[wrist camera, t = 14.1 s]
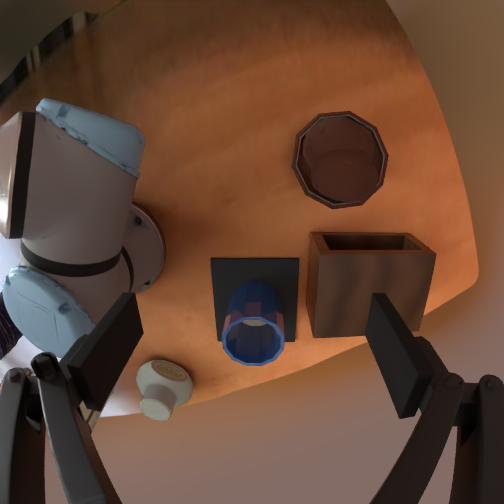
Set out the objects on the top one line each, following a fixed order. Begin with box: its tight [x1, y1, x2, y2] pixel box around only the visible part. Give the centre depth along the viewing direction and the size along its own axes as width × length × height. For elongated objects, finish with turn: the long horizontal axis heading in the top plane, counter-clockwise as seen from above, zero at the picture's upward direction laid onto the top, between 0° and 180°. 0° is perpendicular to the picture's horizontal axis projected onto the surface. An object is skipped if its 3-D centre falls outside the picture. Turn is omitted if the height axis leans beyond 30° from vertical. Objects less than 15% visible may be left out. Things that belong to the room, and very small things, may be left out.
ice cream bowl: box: [291, 111, 389, 209], centre depth 33 cm, size 11×11×15 cm
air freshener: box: [136, 360, 193, 421], centre depth 51 cm, size 11×8×10 cm
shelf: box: [306, 232, 436, 338], centre depth 42 cm, size 16×12×9 cm
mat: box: [211, 258, 299, 342], centre depth 49 cm, size 13×15×1 cm
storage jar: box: [0, 292, 23, 360], centre depth 45 cm, size 10×10×15 cm
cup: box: [222, 282, 285, 366], centre depth 44 cm, size 8×8×10 cm
